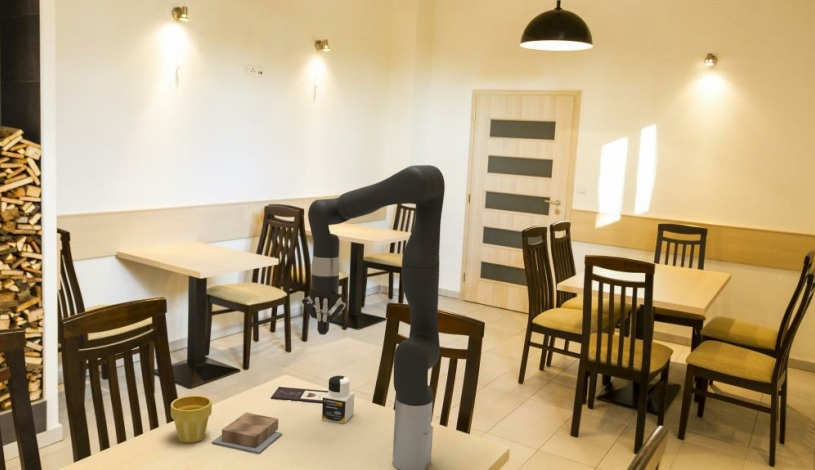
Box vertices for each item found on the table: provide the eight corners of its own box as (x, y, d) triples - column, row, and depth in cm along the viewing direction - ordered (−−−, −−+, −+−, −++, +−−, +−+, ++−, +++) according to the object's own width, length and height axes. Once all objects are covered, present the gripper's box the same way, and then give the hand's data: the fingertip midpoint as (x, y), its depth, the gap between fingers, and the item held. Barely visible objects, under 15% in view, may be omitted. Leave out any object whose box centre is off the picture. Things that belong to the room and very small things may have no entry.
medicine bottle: (321, 419, 194) (322, 380, 192) (331, 410, 201) (332, 372, 199) (344, 424, 192) (346, 384, 190) (353, 414, 199) (355, 375, 197)
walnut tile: (278, 418, 184) (255, 436, 173) (278, 429, 185) (255, 448, 173) (246, 412, 187) (221, 429, 176) (245, 423, 188) (221, 440, 176)
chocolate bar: (279, 386, 216) (334, 391, 214) (278, 389, 216) (334, 394, 214) (270, 397, 207) (328, 402, 205) (270, 400, 207) (328, 405, 205)
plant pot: (162, 437, 178) (162, 401, 177) (197, 425, 186) (197, 391, 185) (184, 450, 172) (184, 413, 170) (219, 437, 179) (219, 402, 178)
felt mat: (282, 435, 183) (282, 432, 183) (259, 454, 172) (259, 451, 171) (236, 425, 187) (236, 423, 187) (211, 443, 176) (211, 441, 176)
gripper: (296, 272, 181) (295, 334, 184) (342, 277, 177) (339, 341, 180) (309, 267, 188) (307, 327, 191) (353, 272, 184) (350, 333, 187)
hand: (323, 333), depth 185 cm, fingers closed
